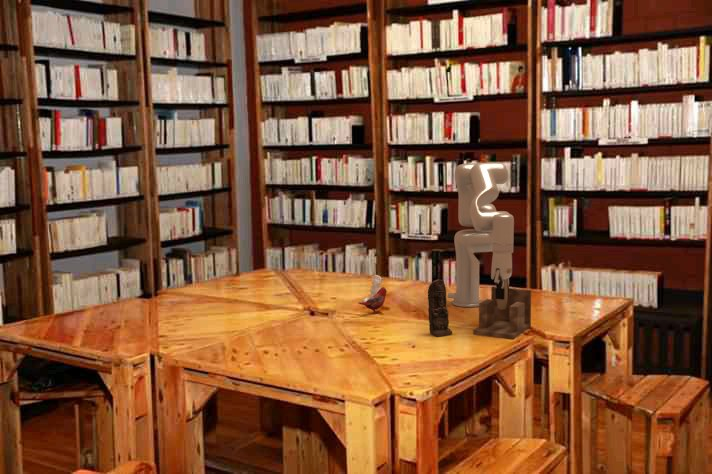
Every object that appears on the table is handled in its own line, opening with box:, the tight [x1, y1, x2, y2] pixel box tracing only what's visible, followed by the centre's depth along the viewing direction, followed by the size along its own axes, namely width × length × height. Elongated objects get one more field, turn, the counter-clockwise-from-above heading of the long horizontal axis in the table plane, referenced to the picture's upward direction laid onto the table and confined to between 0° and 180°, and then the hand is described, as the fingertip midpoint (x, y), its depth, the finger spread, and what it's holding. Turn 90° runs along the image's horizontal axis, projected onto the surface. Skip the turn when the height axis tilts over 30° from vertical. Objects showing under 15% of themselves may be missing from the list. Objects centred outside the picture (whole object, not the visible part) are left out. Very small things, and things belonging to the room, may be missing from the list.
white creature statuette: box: [361, 274, 385, 302], centre depth 343 cm, size 10×9×12 cm
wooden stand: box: [472, 285, 532, 340], centre depth 295 cm, size 15×20×14 cm
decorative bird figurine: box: [357, 286, 388, 315], centre depth 323 cm, size 3×18×10 cm, turn 137°
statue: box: [427, 279, 453, 337], centre depth 291 cm, size 7×7×20 cm
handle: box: [497, 267, 513, 310], centre depth 293 cm, size 5×6×15 cm
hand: (502, 297), depth 293 cm, fingers closed on handle, 3 cm apart
